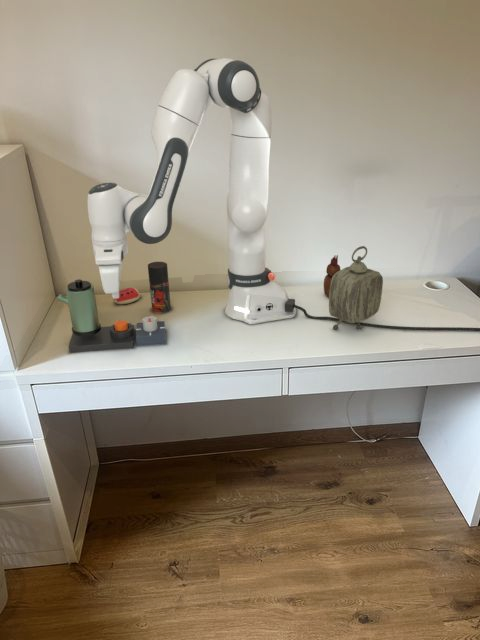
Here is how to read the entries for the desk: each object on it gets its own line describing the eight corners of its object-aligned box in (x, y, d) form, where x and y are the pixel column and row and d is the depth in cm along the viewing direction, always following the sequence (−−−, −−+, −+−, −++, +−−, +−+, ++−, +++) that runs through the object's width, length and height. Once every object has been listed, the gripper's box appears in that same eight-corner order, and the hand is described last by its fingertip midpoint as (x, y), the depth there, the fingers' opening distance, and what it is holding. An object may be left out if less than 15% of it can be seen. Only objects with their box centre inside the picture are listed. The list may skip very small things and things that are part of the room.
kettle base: (135, 330, 161) (133, 318, 159) (133, 348, 152) (132, 335, 150) (75, 334, 159) (72, 322, 157) (69, 353, 149) (67, 340, 147)
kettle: (102, 319, 159) (95, 271, 151) (99, 335, 150) (91, 285, 143) (66, 321, 157) (57, 273, 150) (61, 338, 148) (51, 287, 141)
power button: (128, 325, 156) (127, 319, 155) (127, 331, 153) (127, 325, 152) (115, 326, 155) (114, 320, 155) (114, 332, 152) (113, 325, 151)
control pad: (165, 330, 162) (164, 320, 160) (166, 344, 154) (165, 334, 152) (137, 332, 160) (136, 322, 159) (136, 346, 153) (135, 336, 151)
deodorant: (174, 307, 176) (170, 263, 168) (164, 314, 171) (159, 269, 164) (159, 304, 178) (154, 260, 171) (148, 311, 173) (143, 266, 166)
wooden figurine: (341, 300, 182) (344, 257, 174) (323, 299, 182) (326, 256, 174) (338, 292, 188) (342, 250, 180) (322, 291, 188) (324, 250, 180)
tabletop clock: (356, 315, 171) (363, 238, 159) (380, 324, 166) (389, 245, 153) (326, 329, 162) (332, 249, 150) (350, 340, 157) (358, 257, 144)
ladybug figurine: (145, 297, 182) (144, 287, 181) (123, 307, 175) (122, 297, 173) (130, 293, 186) (129, 283, 184) (109, 303, 178) (107, 293, 177)
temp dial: (143, 326, 157) (141, 315, 155) (157, 324, 158) (156, 314, 156) (143, 332, 154) (142, 321, 152) (157, 331, 154) (156, 320, 153)
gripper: (101, 236, 151) (107, 282, 158) (94, 261, 133) (101, 312, 140) (124, 235, 152) (129, 281, 159) (120, 260, 134) (126, 311, 141)
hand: (116, 296), depth 149 cm, fingers closed
